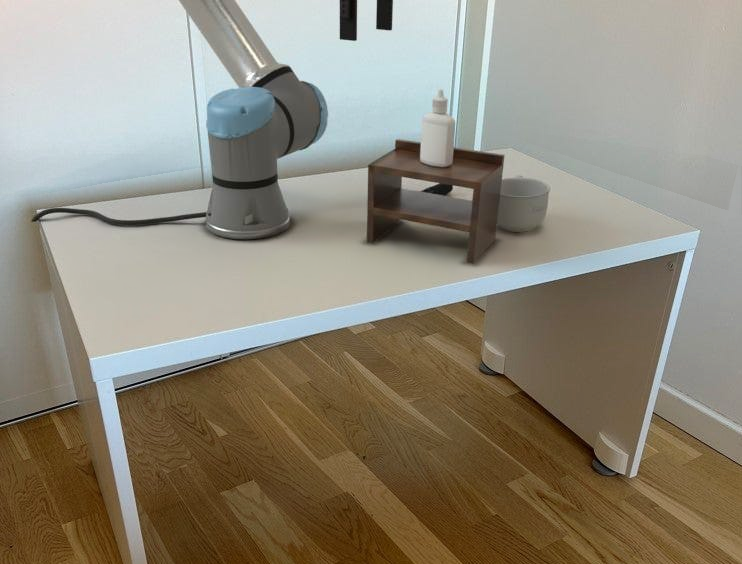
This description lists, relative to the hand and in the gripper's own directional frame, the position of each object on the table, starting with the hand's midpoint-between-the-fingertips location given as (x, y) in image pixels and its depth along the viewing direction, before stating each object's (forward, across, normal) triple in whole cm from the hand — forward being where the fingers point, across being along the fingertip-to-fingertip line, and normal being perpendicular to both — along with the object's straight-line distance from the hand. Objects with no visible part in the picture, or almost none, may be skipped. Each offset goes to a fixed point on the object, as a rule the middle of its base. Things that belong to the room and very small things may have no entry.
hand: (366, 34), depth 126 cm
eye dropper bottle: (+19, -3, -15) cm, 24 cm away
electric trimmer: (+33, +16, -6) cm, 37 cm away
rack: (+33, -3, -15) cm, 36 cm away
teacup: (+33, +13, -26) cm, 44 cm away
